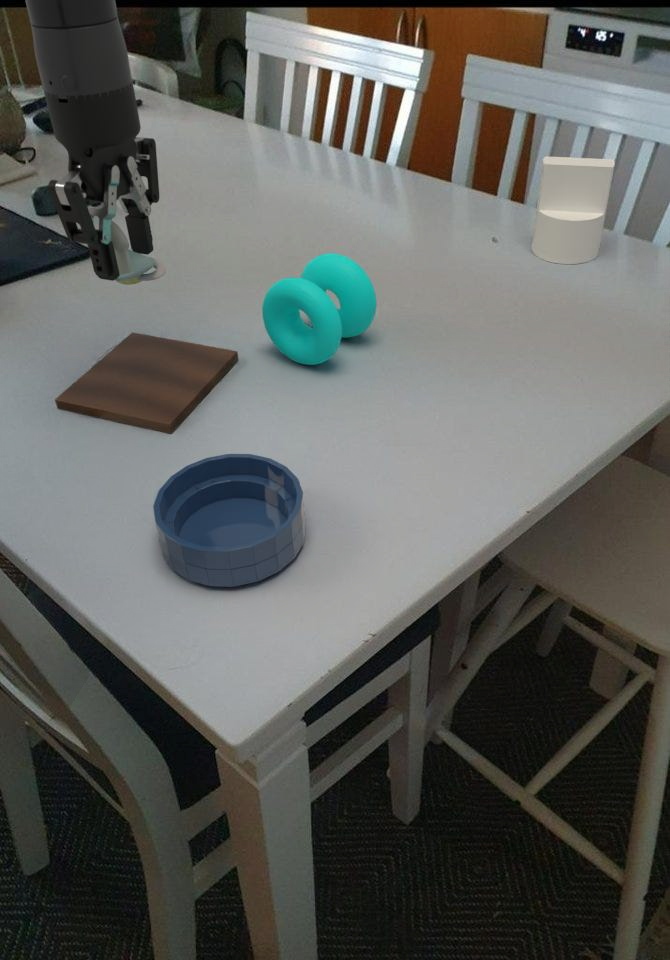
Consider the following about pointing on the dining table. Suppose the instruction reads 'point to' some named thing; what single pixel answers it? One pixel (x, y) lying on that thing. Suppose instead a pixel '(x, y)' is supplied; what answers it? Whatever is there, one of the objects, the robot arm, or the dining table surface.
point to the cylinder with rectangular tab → (571, 208)
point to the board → (148, 382)
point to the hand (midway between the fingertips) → (126, 264)
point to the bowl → (230, 519)
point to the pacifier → (132, 260)
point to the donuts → (319, 308)
